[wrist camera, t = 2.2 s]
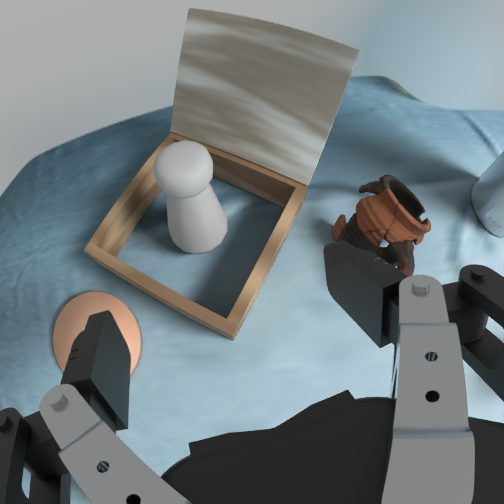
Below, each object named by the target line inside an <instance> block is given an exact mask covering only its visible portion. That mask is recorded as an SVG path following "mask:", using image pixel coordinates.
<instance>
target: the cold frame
mask: <svg viewBox="0 0 504 504" xmlns="http://www.w3.org/2000/svg"><path fill="white" fill-rule="evenodd" d="M359 51H360V50H357V49H355V48H352V47H349V46H347V45H344V44H341V43H339V42H336V41H333V40H330V39H327V38H324V37H321V36H318V35H315V34H312V33H309V32H305V31H302V30H299V29H295V28H292V27H288V26H284V25H280V24H277V23H273V22H268V21H264V20H259V19H255V18H251V17H246V16H240V15H235V14H229V13H223V12H217V11H210V10H203V9H195V8H189V11H188V16H187V21H186V26H185V32H184V37H183V43H182V48H181V55H180V61H179V67H178V74H177V81H176V88H175V95H174V103H173V111H172V120H171V129H170V131H171V132H170V134H169V135H168V136H167V137H166V138H165V139H164V141H163V142H162V143H161V144H160V145H159V147H158V148H157V149H156V150H155V152H154V153H153V154H152V155H151V157H150V158H149V159H148V160H147V162H146V163H145V164H144V165H143V167H142V168H141V169H140V170H139V172H138V173H137V174H136V176H135V177H134V178H133V180H132V181H131V182H130V184H129V185H128V186H127V188H126V189H125V190H124V192H123V193H122V194H121V196H120V197H119V199H118V200H117V201H116V203H115V204H114V206H113V207H112V208H111V210H110V211H109V213H108V214H107V216H106V217H105V218H104V220H103V221H102V223H101V224H100V226H99V227H98V229H97V230H96V232H95V233H94V235H93V236H92V238H91V240H90V241H89V243H88V244H87V246H86V247H85V249H84V251H85V252H86V253H87V254H88V255H89V256H91V257H92V258H93V259H94V260H95V261H96V262H97V263H99V264H100V265H101V266H102V267H104V268H105V269H107V270H109V271H110V272H112V273H113V274H115V275H117V276H118V277H120V278H122V279H123V280H125V281H126V282H128V283H130V284H131V285H133V286H135V287H136V288H138V289H140V290H142V291H143V292H145V293H147V294H148V295H150V296H152V297H153V298H155V299H157V300H159V301H160V302H162V303H164V304H166V305H167V306H169V307H171V308H173V309H175V310H176V311H178V312H180V313H182V314H184V315H185V316H187V317H189V318H191V319H193V320H195V321H197V322H198V323H200V324H202V325H204V326H206V327H208V328H210V329H212V330H214V331H215V332H217V333H219V334H221V335H223V336H225V337H227V338H229V339H231V340H233V341H234V339H235V337H236V335H237V333H238V331H239V330H240V328H241V326H242V324H243V322H244V320H245V318H246V316H247V314H248V312H249V310H250V308H251V306H252V304H253V302H254V300H255V298H256V297H257V295H258V293H259V291H260V289H261V287H262V285H263V283H264V281H265V279H266V277H267V275H268V273H269V271H270V269H271V267H272V265H273V263H274V261H275V259H276V257H277V255H278V253H279V251H280V249H281V247H282V245H283V243H284V241H285V239H286V237H287V235H288V233H289V231H290V229H291V227H292V225H293V223H294V221H295V219H296V217H297V215H298V213H299V211H300V209H301V206H302V203H303V201H304V198H305V195H306V192H307V189H308V186H309V183H310V181H311V179H312V176H313V174H314V171H315V169H316V166H317V164H318V161H319V158H320V156H321V153H322V151H323V148H324V145H325V143H326V140H327V138H328V135H329V132H330V130H331V127H332V125H333V122H334V119H335V117H336V114H337V111H338V109H339V106H340V103H341V101H342V98H343V95H344V93H345V90H346V87H347V84H348V82H349V79H350V76H351V73H352V71H353V68H354V65H355V63H356V60H357V57H358V54H359ZM184 140H185V141H193V142H197V143H199V144H201V145H202V146H204V147H206V149H207V151H208V152H209V154H210V156H211V158H212V161H213V177H215V178H218V179H220V180H222V181H225V182H227V183H229V184H232V185H234V186H236V187H239V188H241V189H243V190H246V191H248V192H250V193H253V194H255V195H257V196H260V197H262V198H264V199H266V200H269V201H271V202H273V203H275V204H278V205H280V206H282V207H284V208H285V209H284V211H283V213H282V215H281V217H280V219H279V221H278V223H277V225H276V227H275V229H274V231H273V232H272V234H271V236H270V238H269V240H268V242H267V244H266V246H265V248H264V250H263V252H262V253H261V255H260V257H259V259H258V261H257V263H256V265H255V267H254V269H253V271H252V273H251V274H250V276H249V278H248V280H247V282H246V284H245V286H244V288H243V290H242V292H241V293H240V295H239V297H238V299H237V301H236V303H235V305H234V307H233V309H232V310H231V312H230V314H229V316H228V318H227V319H226V318H224V317H222V316H220V315H218V314H216V313H214V312H212V311H210V310H208V309H206V308H205V307H203V306H201V305H199V304H197V303H195V302H193V301H191V300H189V299H188V298H186V297H184V296H182V295H180V294H178V293H177V292H175V291H173V290H171V289H169V288H167V287H166V286H164V285H162V284H160V283H158V282H157V281H155V280H153V279H151V278H150V277H148V276H146V275H144V274H143V273H141V272H139V271H137V270H136V269H134V268H132V267H131V266H129V265H127V264H125V263H124V262H122V261H120V260H119V259H117V258H116V257H117V255H118V253H119V252H120V250H121V249H122V247H123V245H124V244H125V242H126V241H127V239H128V238H129V236H130V235H131V233H132V232H133V230H134V229H135V227H136V226H137V224H138V223H139V221H140V220H141V218H142V217H143V215H144V214H145V212H146V211H147V209H148V208H149V206H150V205H151V204H152V202H153V201H154V199H155V198H156V196H157V195H158V194H159V192H160V191H161V189H160V187H159V185H158V183H157V181H156V179H155V176H154V172H153V168H154V162H155V158H156V157H157V156H158V154H159V153H160V151H161V150H162V149H164V148H165V147H167V146H169V145H170V144H172V143H175V142H180V141H184Z"/></svg>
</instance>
